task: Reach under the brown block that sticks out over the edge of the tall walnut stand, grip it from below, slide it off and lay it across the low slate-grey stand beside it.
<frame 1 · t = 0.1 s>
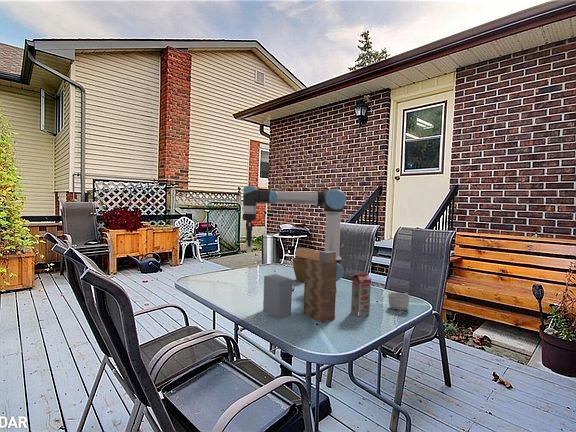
hand: (248, 250, 189), 28 cm above the table, tool pointing down, fingers open, 13 cm apart
juice carton: (360, 314, 170), on the table
plant pot: (301, 280, 239), on the table
teacup: (400, 308, 182), on the table
grey stand: (276, 312, 168), on the table
brown block: (313, 259, 166), point 28 cm above the table, touching walnut stand
walnut stand: (318, 316, 164), on the table
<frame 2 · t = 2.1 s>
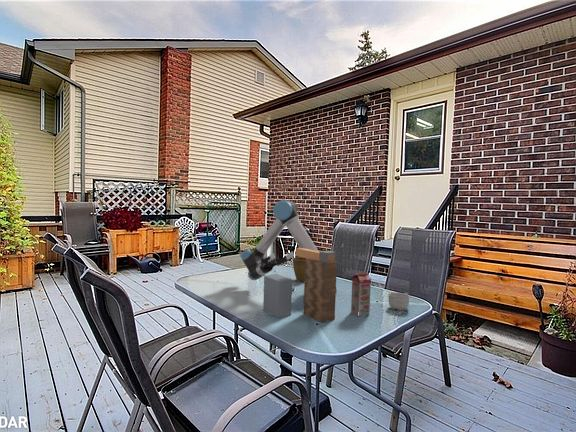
hand: (283, 254, 186), 27 cm above the table, tool pointing upward, fingers open, 13 cm apart
nothing on the table moved.
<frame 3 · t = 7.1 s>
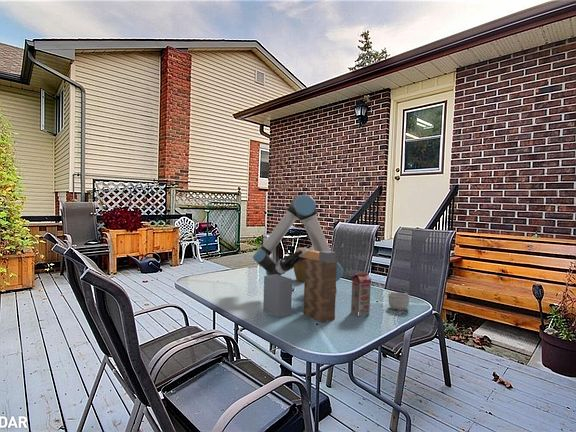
hand: (309, 248, 169), 33 cm above the table, tool pointing upward, fingers closed on brown block, 4 cm apart
brown block: (313, 259, 166), point 28 cm above the table, touching gripper, walnut stand
everything else where it was.
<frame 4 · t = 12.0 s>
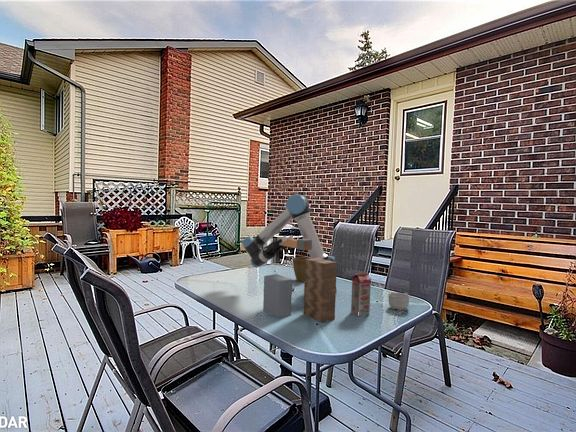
hand: (289, 237, 181), 37 cm above the table, tool pointing upward, fingers closed on brown block, 4 cm apart
brown block: (292, 246, 179), point 32 cm above the table, touching gripper
everything else where it was.
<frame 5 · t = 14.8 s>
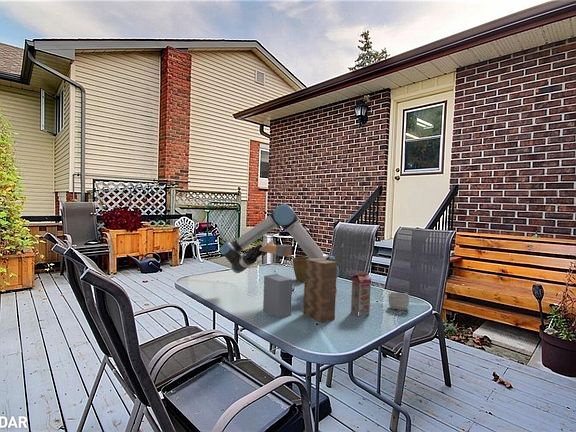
hand: (269, 242, 173), 35 cm above the table, tool pointing upward, fingers closed on brown block, 4 cm apart
brown block: (272, 252, 170), point 30 cm above the table, touching gripper
everything else where it was.
when the fingers open (25 cm above the table, at t = 17.1 s): brown block drops 2 cm, resting on grey stand.
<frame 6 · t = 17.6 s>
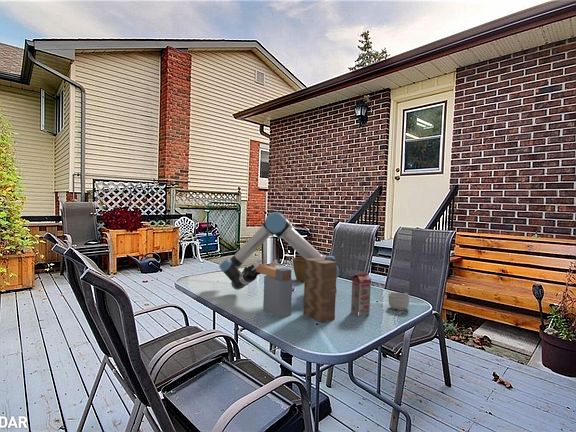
hand: (267, 262, 174), 24 cm above the table, tool pointing upward, fingers open, 11 cm apart
brown block: (272, 275, 171), point 18 cm above the table, touching grey stand
everything else where it was.
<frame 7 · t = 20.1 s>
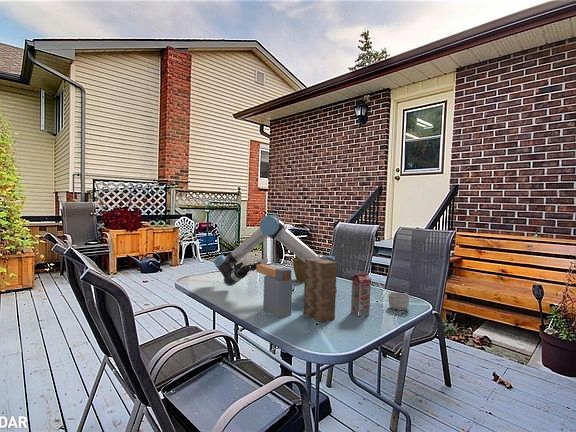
hand: (256, 260, 182), 24 cm above the table, tool pointing upward, fingers open, 13 cm apart
nothing on the table moved.
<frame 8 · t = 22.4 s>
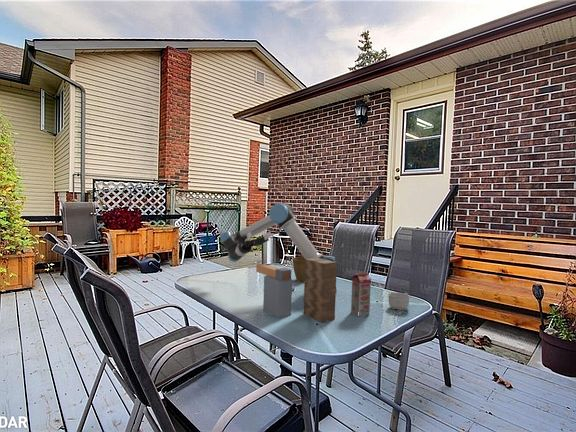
hand: (260, 233, 188), 38 cm above the table, tool pointing upward, fingers open, 13 cm apart
nothing on the table moved.
at the end: brown block inside the target area on the grey stand (0.4 cm from its centre), point 18.0 cm above the grey stand's base; brown block touching grey stand; the gripper is holding nothing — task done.
